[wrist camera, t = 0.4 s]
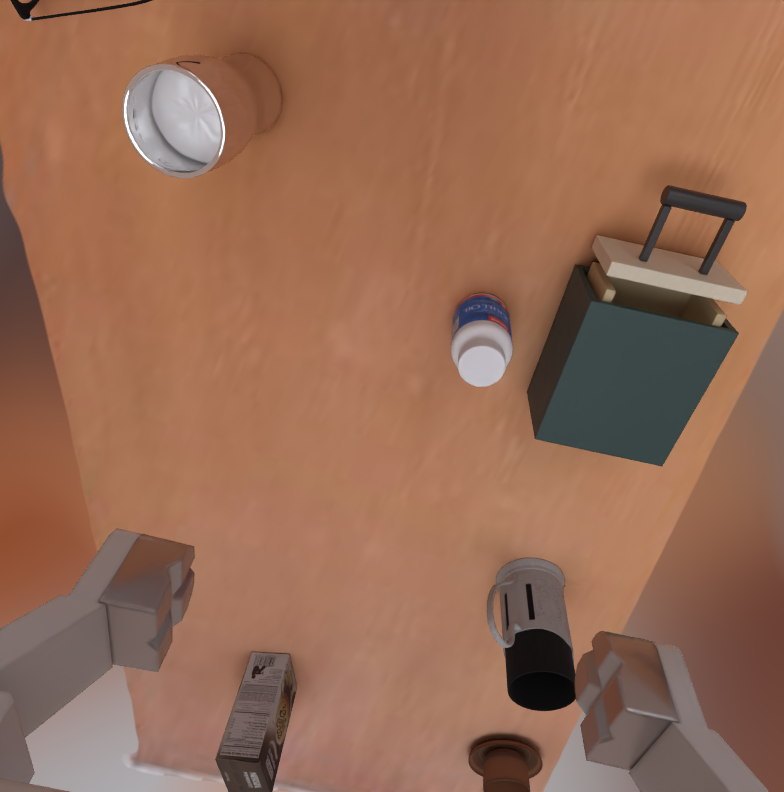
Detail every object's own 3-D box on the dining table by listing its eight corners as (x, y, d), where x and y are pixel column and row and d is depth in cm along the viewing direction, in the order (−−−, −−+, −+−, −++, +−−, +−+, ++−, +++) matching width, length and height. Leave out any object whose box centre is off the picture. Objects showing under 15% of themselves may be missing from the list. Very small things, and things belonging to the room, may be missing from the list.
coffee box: (298, 687, 96) (272, 798, 83) (260, 685, 97) (227, 794, 84) (290, 653, 92) (261, 764, 78) (249, 650, 92) (213, 760, 79)
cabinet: (575, 264, 55) (591, 300, 48) (704, 292, 55) (739, 333, 48) (526, 391, 62) (534, 439, 56) (640, 416, 63) (662, 466, 56)
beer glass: (226, 26, 47) (140, 32, 35) (302, 81, 49) (247, 107, 36) (192, 107, 51) (103, 139, 38) (264, 156, 52) (202, 203, 40)
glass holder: (520, 612, 81) (530, 722, 69) (457, 550, 76) (456, 657, 63) (577, 588, 78) (599, 700, 65) (516, 521, 72) (526, 629, 60)
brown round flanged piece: (533, 774, 104) (536, 814, 98) (463, 764, 104) (463, 803, 99) (548, 737, 97) (553, 778, 92) (474, 727, 98) (474, 767, 92)
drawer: (623, 165, 49) (643, 185, 44) (753, 194, 49) (789, 217, 44) (546, 363, 60) (554, 399, 54) (653, 387, 60) (673, 425, 54)
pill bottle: (514, 295, 57) (523, 344, 49) (502, 345, 60) (508, 398, 52) (457, 287, 57) (456, 334, 49) (448, 337, 60) (445, 389, 52)
